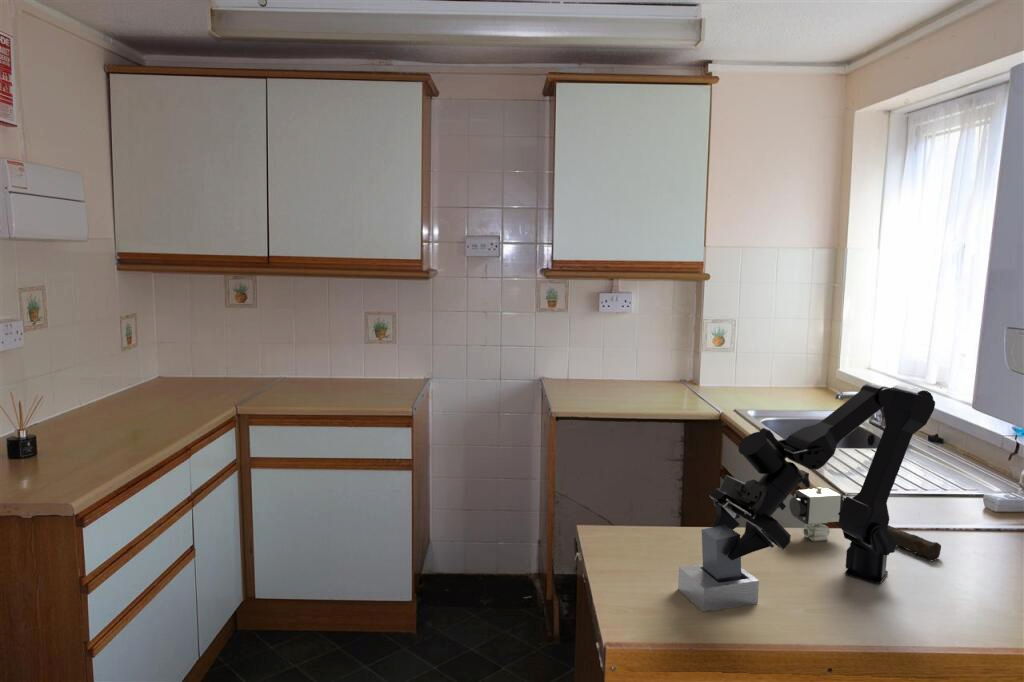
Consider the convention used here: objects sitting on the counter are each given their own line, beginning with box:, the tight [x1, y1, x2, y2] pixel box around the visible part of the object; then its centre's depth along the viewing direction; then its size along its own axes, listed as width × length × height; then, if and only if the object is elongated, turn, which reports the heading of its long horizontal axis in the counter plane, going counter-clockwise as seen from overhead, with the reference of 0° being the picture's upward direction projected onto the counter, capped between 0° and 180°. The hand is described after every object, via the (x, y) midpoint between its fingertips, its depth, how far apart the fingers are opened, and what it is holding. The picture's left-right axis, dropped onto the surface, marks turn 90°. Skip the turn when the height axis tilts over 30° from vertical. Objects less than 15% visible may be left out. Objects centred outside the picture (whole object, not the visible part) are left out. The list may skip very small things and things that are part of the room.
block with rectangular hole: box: [677, 563, 760, 613], centre depth 134 cm, size 12×9×4 cm
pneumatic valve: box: [788, 486, 846, 543], centre depth 161 cm, size 6×12×12 cm, turn 101°
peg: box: [701, 525, 742, 583], centre depth 134 cm, size 5×5×12 cm
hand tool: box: [887, 524, 942, 562], centre depth 159 cm, size 19×4×5 cm, turn 25°
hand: (718, 550), depth 133 cm, fingers open, 7 cm apart
